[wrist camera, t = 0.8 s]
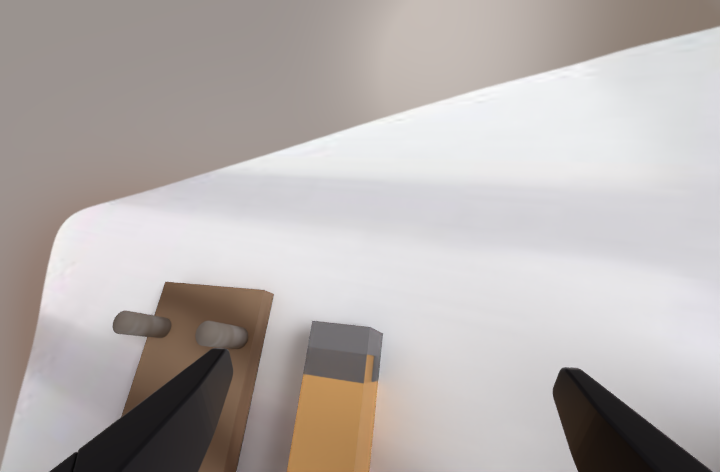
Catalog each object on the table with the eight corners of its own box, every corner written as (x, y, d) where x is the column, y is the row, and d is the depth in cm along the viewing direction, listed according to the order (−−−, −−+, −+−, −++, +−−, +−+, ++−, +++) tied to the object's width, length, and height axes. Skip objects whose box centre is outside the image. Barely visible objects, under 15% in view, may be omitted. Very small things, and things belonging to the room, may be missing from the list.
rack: (199, 640, 19) (123, 724, 15) (84, 590, 22) (-13, 648, 17) (273, 294, 26) (236, 278, 21) (179, 285, 28) (127, 270, 24)
